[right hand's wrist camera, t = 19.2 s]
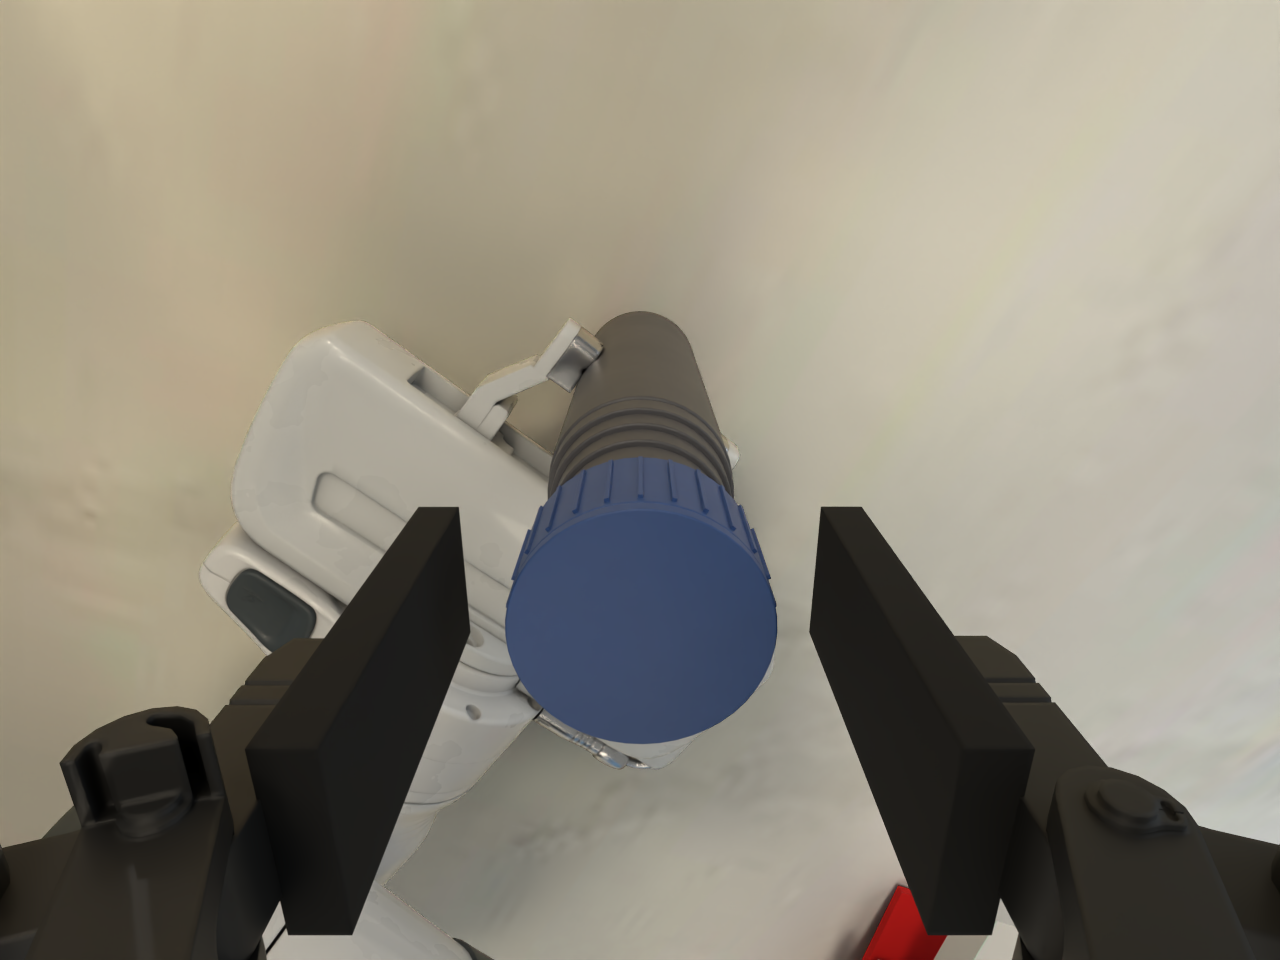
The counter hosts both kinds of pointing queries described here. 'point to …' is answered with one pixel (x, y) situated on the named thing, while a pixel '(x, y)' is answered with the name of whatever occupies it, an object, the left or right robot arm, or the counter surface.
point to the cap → (641, 603)
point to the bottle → (641, 405)
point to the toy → (935, 936)
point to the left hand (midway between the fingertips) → (655, 385)
